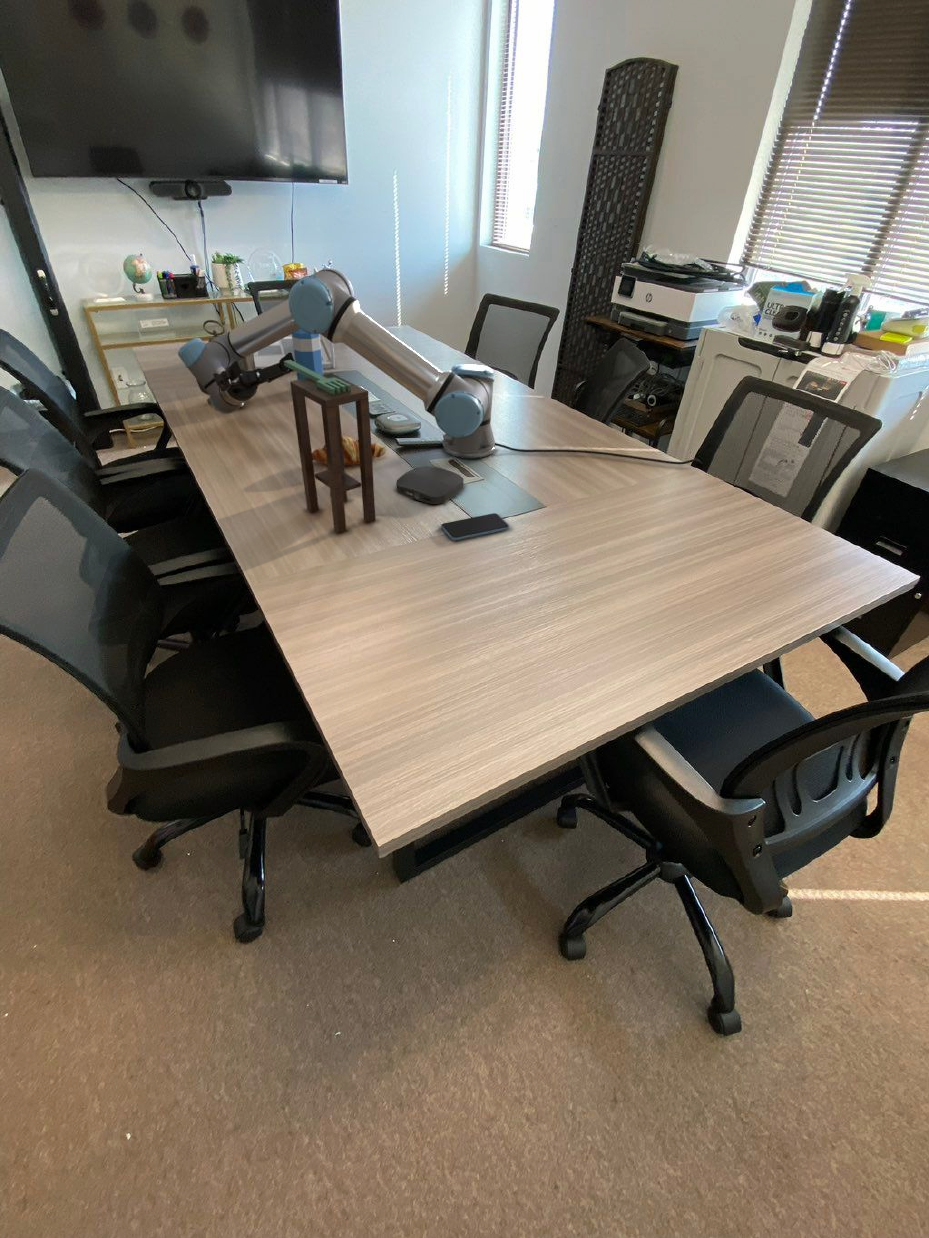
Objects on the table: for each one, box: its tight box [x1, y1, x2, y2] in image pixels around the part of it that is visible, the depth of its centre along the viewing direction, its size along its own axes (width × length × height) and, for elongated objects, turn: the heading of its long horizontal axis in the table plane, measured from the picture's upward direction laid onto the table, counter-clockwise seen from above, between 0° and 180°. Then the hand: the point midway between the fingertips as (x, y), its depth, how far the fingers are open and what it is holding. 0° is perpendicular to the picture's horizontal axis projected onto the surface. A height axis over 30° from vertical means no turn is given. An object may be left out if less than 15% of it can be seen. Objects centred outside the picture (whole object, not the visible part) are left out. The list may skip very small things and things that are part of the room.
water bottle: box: [291, 329, 324, 380], centre depth 200 cm, size 9×9×25 cm
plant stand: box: [289, 372, 376, 535], centre depth 133 cm, size 14×10×30 cm
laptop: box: [253, 266, 336, 370], centre depth 231 cm, size 40×29×28 cm
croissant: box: [312, 435, 387, 467], centre depth 164 cm, size 21×10×8 cm, turn 112°
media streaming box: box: [396, 465, 465, 505], centre depth 154 cm, size 15×15×3 cm
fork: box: [284, 360, 351, 395], centre depth 126 cm, size 22×4×1 cm, turn 42°
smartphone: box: [440, 512, 510, 541], centre depth 140 cm, size 7×1×15 cm
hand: (265, 362), depth 141 cm, fingers open, 13 cm apart
